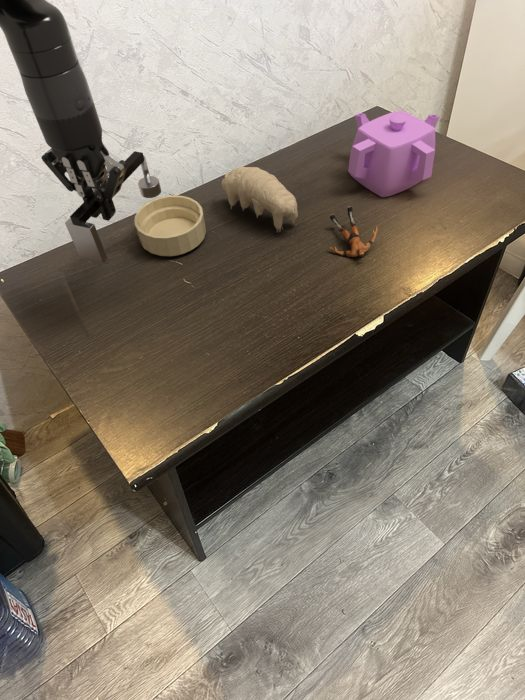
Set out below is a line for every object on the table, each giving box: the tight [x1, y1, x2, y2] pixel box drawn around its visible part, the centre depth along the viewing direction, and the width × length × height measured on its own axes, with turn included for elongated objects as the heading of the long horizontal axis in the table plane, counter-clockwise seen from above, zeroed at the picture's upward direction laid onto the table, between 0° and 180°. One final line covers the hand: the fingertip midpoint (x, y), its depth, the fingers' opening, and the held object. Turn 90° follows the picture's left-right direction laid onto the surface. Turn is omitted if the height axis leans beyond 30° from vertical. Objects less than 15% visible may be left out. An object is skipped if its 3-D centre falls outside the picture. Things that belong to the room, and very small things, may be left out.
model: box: [221, 166, 299, 233], centre depth 95 cm, size 7×18×10 cm, turn 49°
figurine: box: [329, 205, 379, 259], centre depth 91 cm, size 9×2×11 cm
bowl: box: [133, 195, 207, 257], centre depth 94 cm, size 13×13×5 cm
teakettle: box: [347, 109, 440, 198], centre depth 100 cm, size 17×17×12 cm
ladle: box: [64, 150, 162, 264], centre depth 80 cm, size 20×4×8 cm, turn 158°
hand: (103, 215), depth 77 cm, fingers closed on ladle
